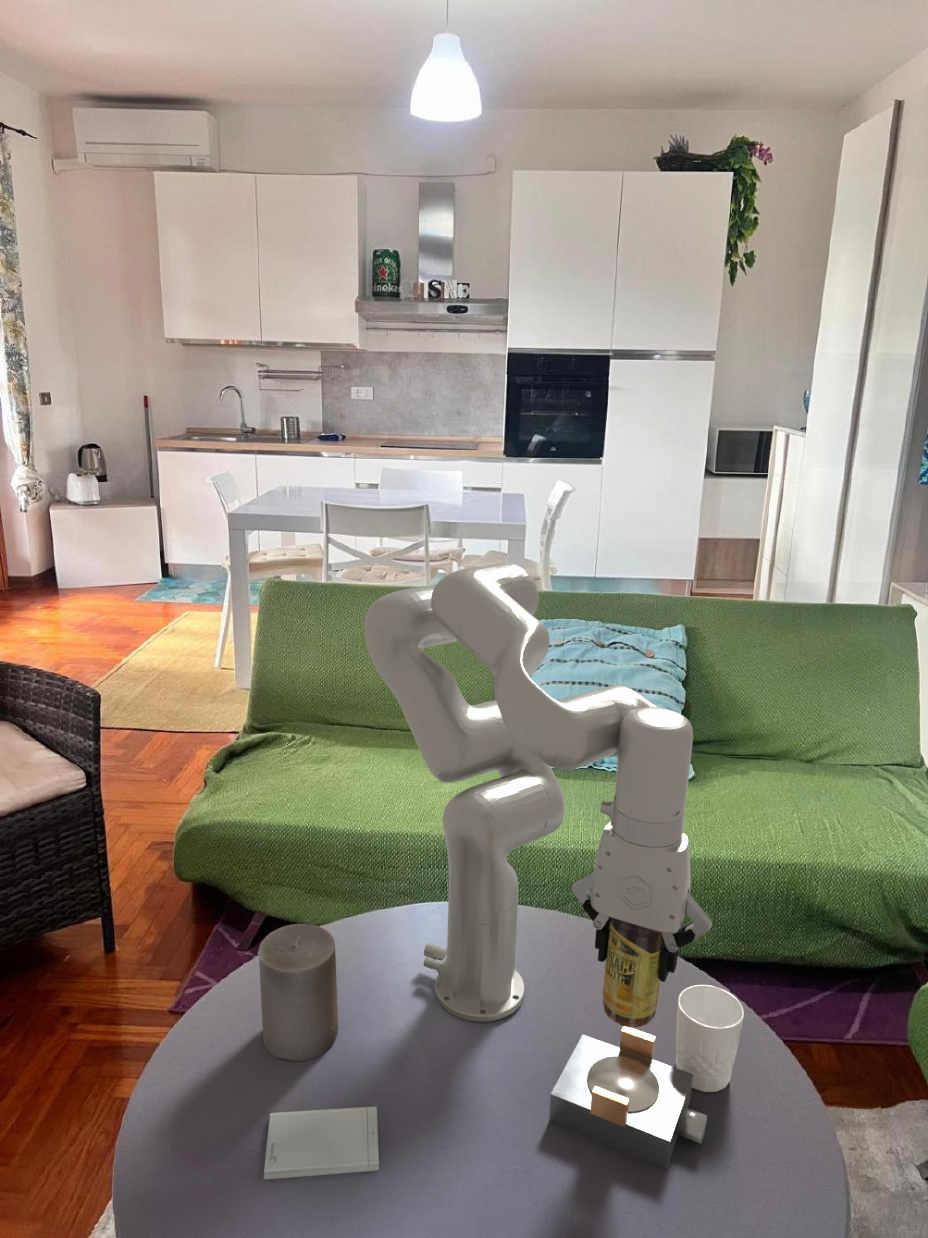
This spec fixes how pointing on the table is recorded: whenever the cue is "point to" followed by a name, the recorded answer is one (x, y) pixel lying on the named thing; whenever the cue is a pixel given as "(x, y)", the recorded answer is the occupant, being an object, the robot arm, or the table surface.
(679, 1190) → the table surface
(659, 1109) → the block
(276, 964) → the pillar candle
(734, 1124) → the table surface
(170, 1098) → the table surface
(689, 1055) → the white cup
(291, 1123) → the hard drive
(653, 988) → the sauce bottle
